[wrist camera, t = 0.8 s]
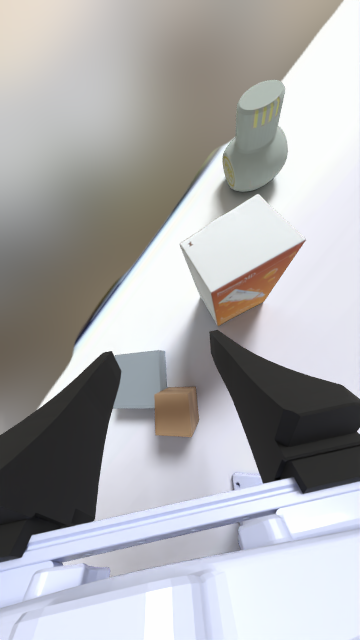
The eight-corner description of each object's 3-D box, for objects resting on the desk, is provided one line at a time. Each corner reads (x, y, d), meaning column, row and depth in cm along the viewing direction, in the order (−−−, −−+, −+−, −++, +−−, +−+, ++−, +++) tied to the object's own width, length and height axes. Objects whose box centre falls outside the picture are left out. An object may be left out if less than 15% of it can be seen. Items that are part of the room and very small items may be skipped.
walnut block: (199, 420, 21) (191, 437, 17) (170, 419, 23) (155, 435, 18) (195, 386, 23) (188, 393, 18) (168, 387, 24) (154, 394, 19)
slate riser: (168, 402, 24) (161, 408, 21) (125, 403, 26) (113, 408, 23) (165, 351, 26) (158, 350, 23) (125, 355, 28) (114, 355, 25)
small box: (217, 327, 24) (209, 295, 12) (199, 296, 26) (176, 242, 14) (265, 302, 23) (310, 237, 11) (242, 271, 25) (257, 190, 13)
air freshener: (284, 186, 27) (315, 94, 17) (237, 207, 28) (243, 133, 19) (260, 151, 30) (276, 58, 21) (220, 172, 32) (217, 95, 22)
